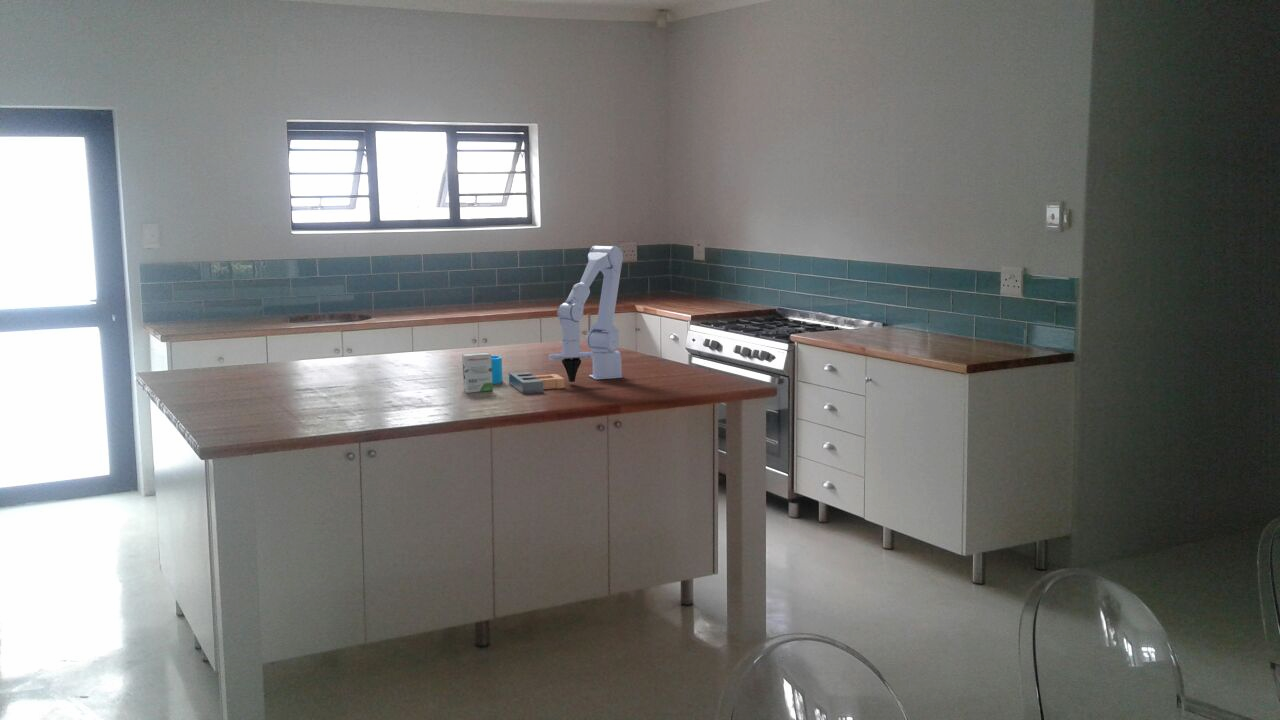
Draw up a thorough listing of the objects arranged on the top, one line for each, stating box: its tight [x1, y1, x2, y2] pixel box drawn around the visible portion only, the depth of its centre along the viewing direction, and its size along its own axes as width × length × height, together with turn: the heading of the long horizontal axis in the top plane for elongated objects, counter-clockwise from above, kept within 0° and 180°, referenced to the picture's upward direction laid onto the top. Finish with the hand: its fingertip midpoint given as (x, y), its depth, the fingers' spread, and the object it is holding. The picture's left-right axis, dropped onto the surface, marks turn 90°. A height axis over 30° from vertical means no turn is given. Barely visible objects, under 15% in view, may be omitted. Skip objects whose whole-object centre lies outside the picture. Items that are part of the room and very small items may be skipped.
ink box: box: [461, 352, 494, 394], centre depth 358 cm, size 9×5×12 cm, turn 111°
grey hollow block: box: [508, 371, 544, 395], centre depth 362 cm, size 6×20×4 cm, turn 19°
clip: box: [535, 373, 566, 390], centre depth 365 cm, size 8×10×3 cm
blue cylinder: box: [491, 355, 503, 385], centre depth 376 cm, size 12×8×8 cm
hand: (571, 381), depth 367 cm, fingers closed
